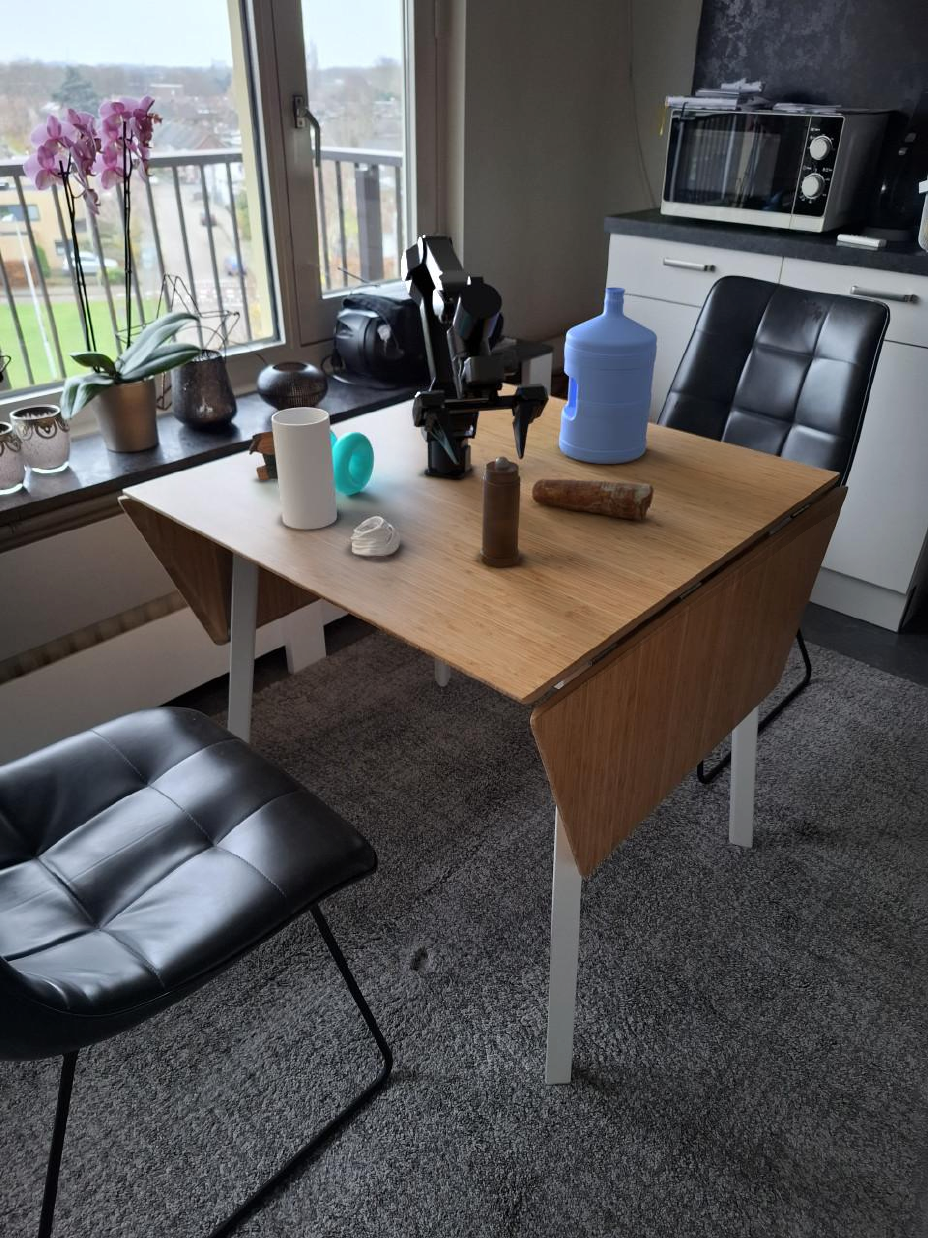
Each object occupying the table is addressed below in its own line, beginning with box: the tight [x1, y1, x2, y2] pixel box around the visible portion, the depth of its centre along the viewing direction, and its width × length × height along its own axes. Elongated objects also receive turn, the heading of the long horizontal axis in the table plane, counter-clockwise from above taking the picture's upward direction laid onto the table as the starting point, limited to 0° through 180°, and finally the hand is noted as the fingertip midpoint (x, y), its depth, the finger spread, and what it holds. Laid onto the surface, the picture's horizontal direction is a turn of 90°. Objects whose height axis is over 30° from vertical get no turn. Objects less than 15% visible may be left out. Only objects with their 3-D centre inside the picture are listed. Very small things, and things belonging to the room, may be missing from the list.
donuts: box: [330, 428, 375, 496], centre depth 142 cm, size 10×10×10 cm
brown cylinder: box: [531, 478, 655, 521], centre depth 136 cm, size 6×19×6 cm, turn 66°
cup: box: [271, 407, 338, 530], centre depth 130 cm, size 8×8×16 cm
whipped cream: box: [350, 516, 400, 557], centre depth 124 cm, size 8×7×5 cm
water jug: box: [558, 287, 658, 465], centre depth 153 cm, size 16×16×28 cm
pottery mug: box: [248, 430, 278, 481], centre depth 150 cm, size 12×10×8 cm
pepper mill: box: [479, 456, 521, 568], centre depth 119 cm, size 5×5×15 cm
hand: (489, 460), depth 122 cm, fingers open, 9 cm apart
